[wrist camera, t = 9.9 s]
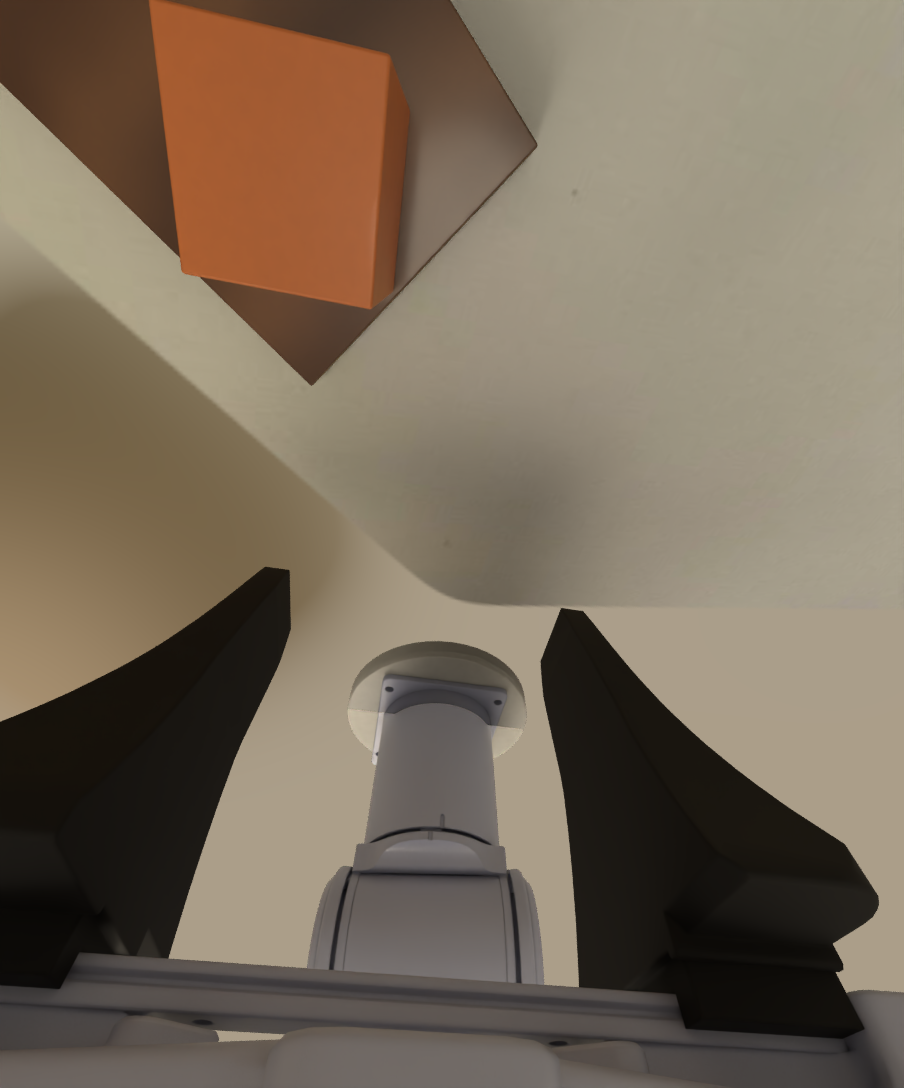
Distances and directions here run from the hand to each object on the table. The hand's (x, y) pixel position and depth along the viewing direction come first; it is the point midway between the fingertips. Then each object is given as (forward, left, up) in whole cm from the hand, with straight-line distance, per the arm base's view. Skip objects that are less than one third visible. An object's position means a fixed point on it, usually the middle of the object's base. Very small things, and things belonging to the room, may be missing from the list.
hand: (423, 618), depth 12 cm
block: (+9, +5, -8) cm, 13 cm away
